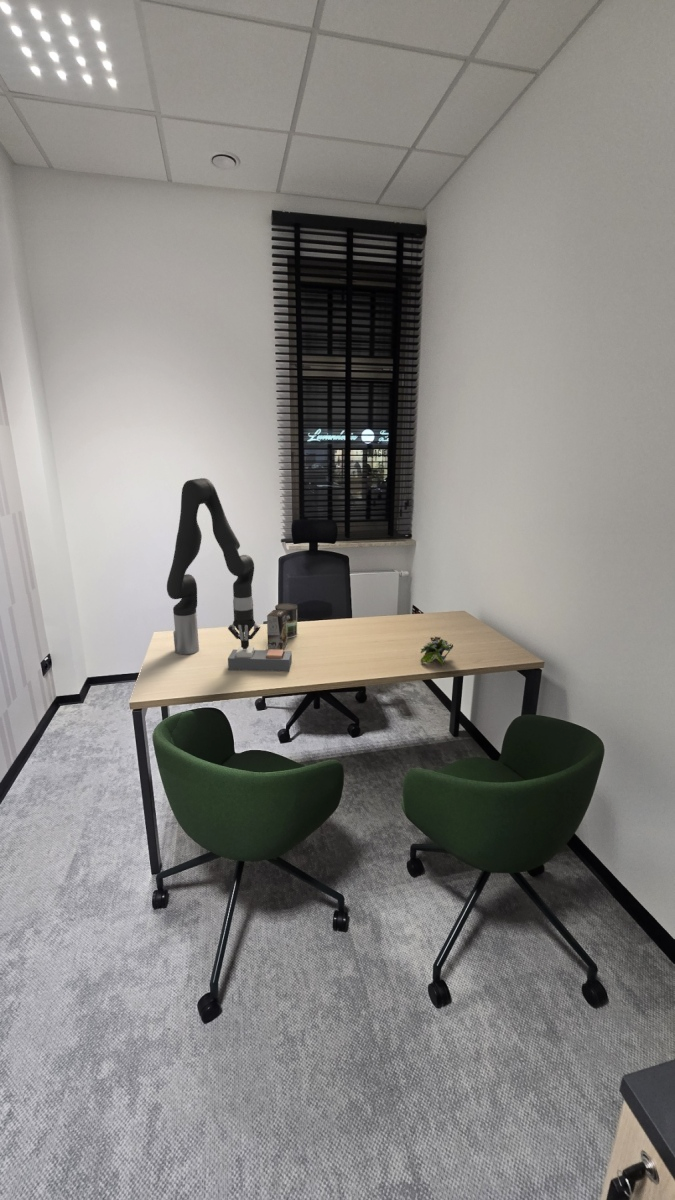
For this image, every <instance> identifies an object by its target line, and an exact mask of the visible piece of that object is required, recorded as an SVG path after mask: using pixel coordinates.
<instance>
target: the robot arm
mask: <svg viewBox="0 0 675 1200" xmlns="http://www.w3.org/2000/svg"><path fill="white" fill-rule="evenodd" d="M180 499H181V500H180V514H179V520H178V521H179V523H178V528H177V534H176V539H175V544H174V545H175V547H174V554H173V559H172V564H171V567H170V570H169V574H168V577H167V580H166V581H167V582H166V591H167V595H168V598H170V599H172V600H179V602H177V603H176V604H175V605H174V606H173V612H172V613H173V622H174V624H173V625H174V630H173V644H174V653H176V654H179V655H193V654H195V653H197V652H198V651H199V649H200V644H199V643H200V641H199V632H198V631H199V630H198V628H199V627H198V618H197V616H198V614H197V607H198V586H197V580H196V579H195V577H194V576H193V575H192V574H190V573H186V572H187V570H188V569H189V567H190V566H191V565H192V563H193V562H194V561H195V559H196V558H197V556H198V554H199V553H200V550H201V544H202V539H203V538H202V537H203V536H202V532H201V528H200V525H199V523H198V511H199V507H200V505H202V504H204V505H205V506H206V508H207V510H208V511H209V514H210V517H211V525H212V531H213V536H214V539H215V540H216V542H217V544H218V546H219V547H220V548H221V551H222V553H223V558H224V561H225V565H226V567H227V569H228V571H229V572H230V573H231V575H233V576H234V577H235V576H236V580H235V581H234V582H233V585H232V594H233V597H232V598H233V599H232V603H233V605H232V608H233V621H232V624H230V625H229V626H228V627H227V629H228V631H229V632H230V633H231V634H232V636H233V637H234V638H235V639H236V640H240V647H242V648H243V649H247V648H248V647H250V640H253V638H254V637H255V636H256V635H257V634H258V631H260V629H261V626H260V625H258V624H257V623H256V621H255V620H254V599H253V590H252V587H253V586H252V583H253V580H254V574H255V573H254V572H255V562H254V560H253V558H252V557H251V556H250V555H247V554H241V555H240V554H239V549H240V548H241V544H240V542H239V539H238V538H237V536H236V534H235V532H234V531H233V529H232V528H231V525H230V522H229V521H228V519H227V516H226V514H225V511H224V508H223V505H222V503H221V501H220V497H219V495H218V493H217V490H216V487H215V485H214V484H213V482H212V481H211V480H210V479H208V478H205V477H204V478H203V477H201V478H200V477H199V478H195V479H194V478H193V479H190V480H187V481H185V483H184V484H183V486H182V488H181V497H180ZM252 629H253V631H252ZM250 631H252V632H251V634H250Z"/></svg>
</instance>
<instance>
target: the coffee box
mask: <svg viewBox="0 0 675 1200" xmlns="http://www.w3.org/2000/svg"><path fill="white" fill-rule="evenodd" d="M266 624H267V625H266V626H267V631H266V633H267V650H269V649H275V650H285V647H286V646H287V645H288V638H287V611H286V610H276V609H273V610H271V612H269V613H268V614H267V616H266Z"/></svg>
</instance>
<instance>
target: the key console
mask: <svg viewBox="0 0 675 1200" xmlns="http://www.w3.org/2000/svg"><path fill="white" fill-rule="evenodd" d="M237 650H238V649H232V651H231V652H230V654H229V656H227V657H228V658H227V668H228V671H248V672H249V671H251V672H253V671H254V672H290V670H291V667H292V664H293V655H292V653H293V651H292V650H284V656H283V659H280V658H267V653H268V651H269V650H268V649H267V650H266V649H265V650H264V649H254V655H253V657H252V658H238V657H236V652H237Z"/></svg>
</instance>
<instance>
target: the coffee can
mask: <svg viewBox="0 0 675 1200" xmlns="http://www.w3.org/2000/svg"><path fill="white" fill-rule="evenodd" d="M274 610H286V611H287V639H293V638H295V637H297V635H298V605H297V604H295V603H289V602H285V603H284V602H283V603H278V604H276V605H275V606H274Z"/></svg>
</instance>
